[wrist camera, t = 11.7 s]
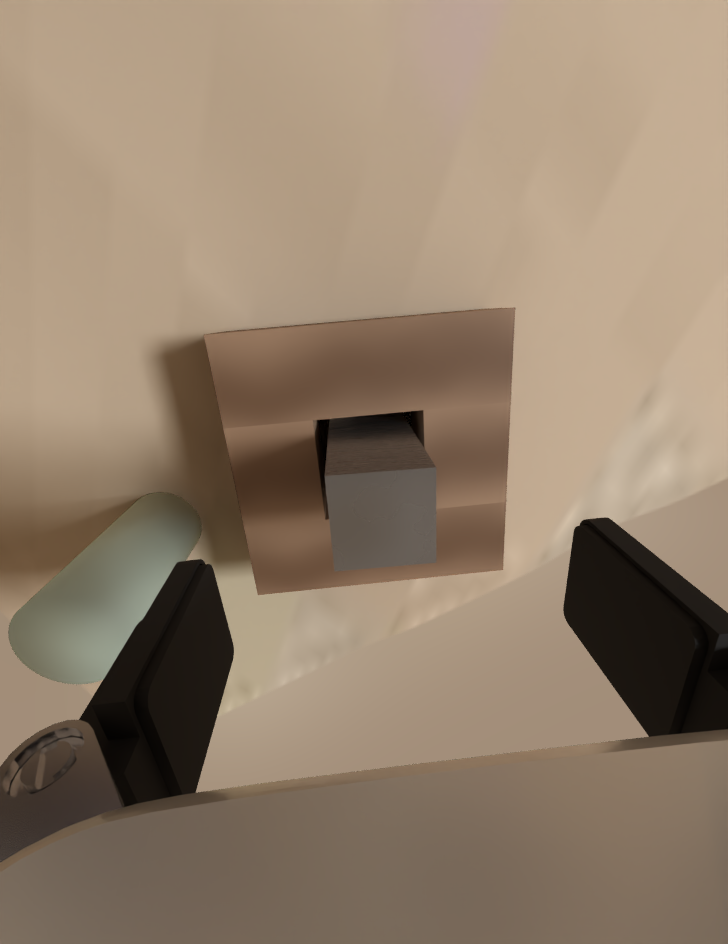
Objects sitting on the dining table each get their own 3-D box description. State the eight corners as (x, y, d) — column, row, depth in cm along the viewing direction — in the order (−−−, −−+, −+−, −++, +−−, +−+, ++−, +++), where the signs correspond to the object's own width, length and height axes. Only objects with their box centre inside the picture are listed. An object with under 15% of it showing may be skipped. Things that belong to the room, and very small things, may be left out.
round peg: (119, 496, 25) (-11, 603, 16) (192, 489, 25) (107, 591, 16) (139, 558, 27) (32, 689, 17) (208, 551, 27) (138, 678, 17)
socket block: (226, 331, 22) (203, 334, 18) (485, 308, 22) (514, 307, 19) (269, 556, 27) (258, 594, 23) (480, 535, 27) (502, 569, 24)
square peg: (336, 477, 25) (334, 571, 16) (330, 413, 24) (324, 475, 15) (400, 472, 26) (436, 562, 16) (398, 408, 24) (436, 467, 15)
